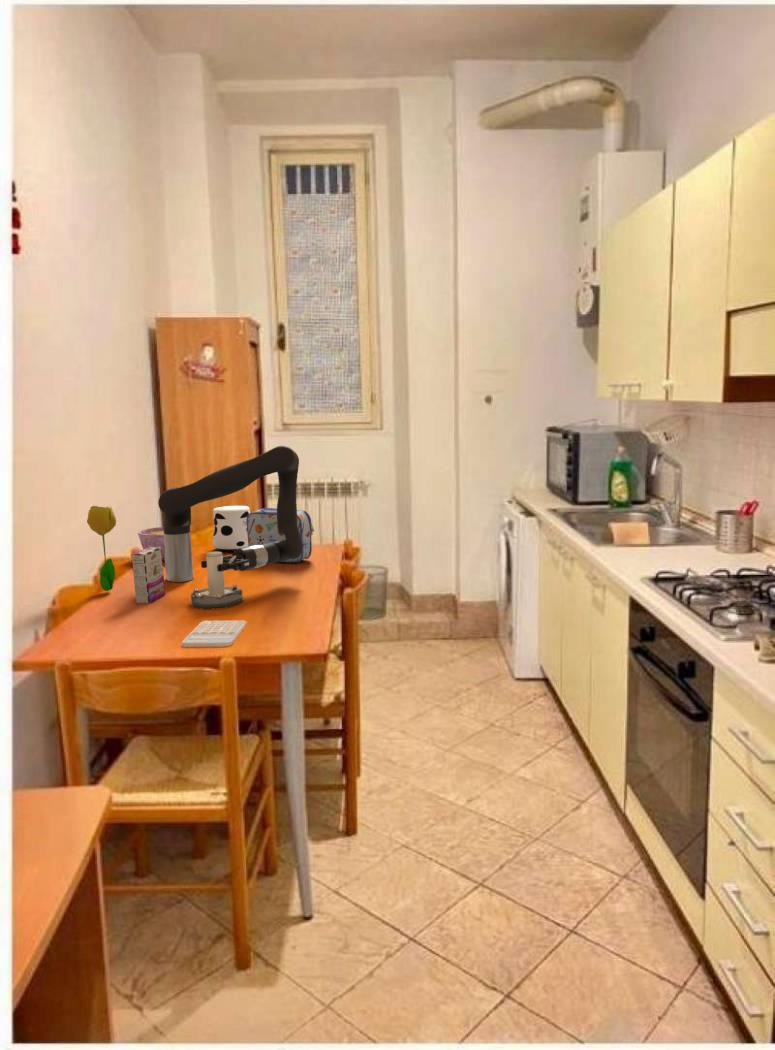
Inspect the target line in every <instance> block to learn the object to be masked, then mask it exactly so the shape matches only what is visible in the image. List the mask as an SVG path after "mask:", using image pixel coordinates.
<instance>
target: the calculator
mask: <svg viewBox="0 0 775 1050" xmlns="http://www.w3.org/2000/svg"><path fill="white" fill-rule="evenodd" d="M246 624H247V625H248V623H247V621H246V620H242V619H241V620H226V619H225V620H224V619H223V620H203V621H201V622H199V624H197V626H195V628H193V630H192V631H191V632H190V633H189V634H187V636H186V637H185V638H184V639H183V640H182V642H181V647H183V648H187V647H188V648H191V647H192V648H196V647H197V648H198V647H199V648H201V647H202V648H203V647H206V648H207V647H209V648H210V647H216V648H217V647H218V648H219V647H230V645H231V646H232V645H233V644H232V643H233V642H235V641H236V640H237V639H238V637H239V636H240V635H241V633H243V631H242V630H244V629H245V628H246V627H247V625H246ZM245 626H246V627H245ZM239 634H240V635H239ZM236 638H237V639H236Z"/></svg>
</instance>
